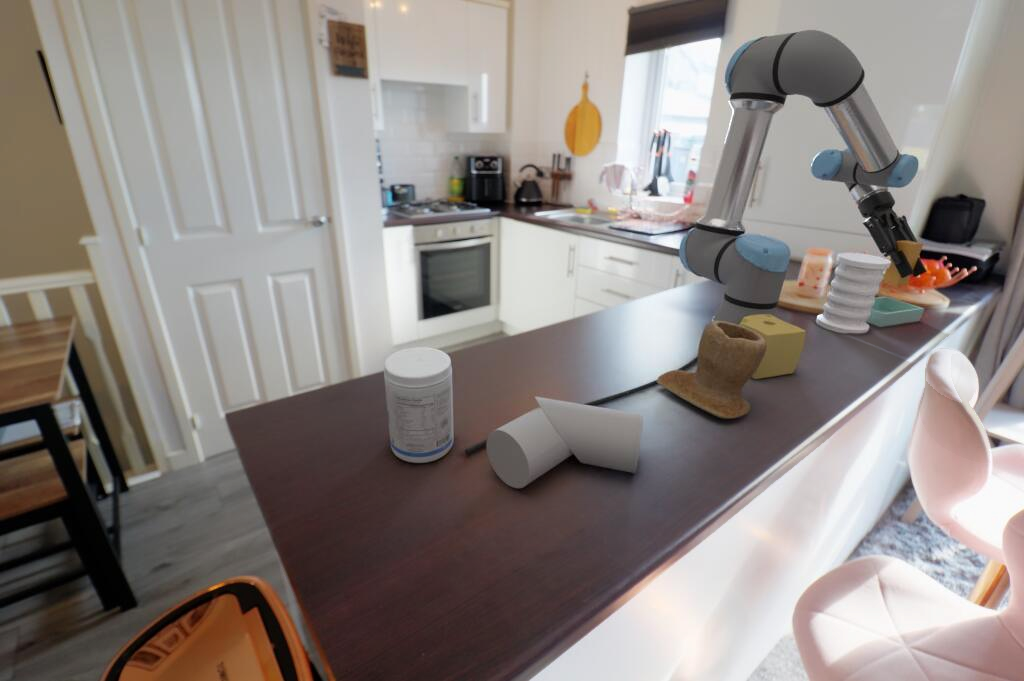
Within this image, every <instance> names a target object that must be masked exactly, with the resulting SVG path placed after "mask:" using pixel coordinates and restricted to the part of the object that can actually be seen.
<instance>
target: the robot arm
mask: <svg viewBox="0 0 1024 681" xmlns="http://www.w3.org/2000/svg"><path fill="white" fill-rule="evenodd" d="M724 72H725V73H724V84H726V85H725V89H726V92H727V93H728V94H729V95H730V96H729V101H728V104H729V106H730V107H731V109H732V115H731V119H730V123H729V125H728V130H727V133H726V137H725V141H724V145H723V149H722V151H721V155H720V160H719V163H718V166H717V169H716V174H715V177H714V181H713V185H712V188H711V192H710V195H709V199H708V202H707V206H706V210H705V212H704V213H705V214H704V215H703V216H702V217H701V218H699V219H698V220H696V223H695V225H694V227H692V228H691V229H689V230H688V231H687V232H686V234H685V235H684V236H682V239H681V241H680V244H679V249H678V254H679V260H680V263H681V264H682V266H683V268H684V269H685V270H686V271H688V272H690V273H692V274H693V275H695V276H697V277H700V278H705V279H707V280H710V281H713V282H715V283H718V284H721V285H723V286H725V291H724V294H723V299H722V301H721V302H720V305H719V306H718V308H717V309H716V311H715V314H714V315H713V316H712V317H711V320H710V321H709V324H710V323H711V322H713V321H725V322H728V323H733V324H737V325H739V324H740V323H741V321H742V319H743V318H744V317H746V316H751V315H759V314H770V315H772V316H774V317H776V318H778V317H777V307H778V304H779V301H780V297H781V293H782V289H783V285H784V282H785V278H786V275H787V272H788V269H789V268H790V258H791V252H792V251H791V249H790V246H789V245H788V244H787V243H785V242H784V241H782V240H780V239H777V238H775V237H773V236H769V235H762V234H760V233H759V234H758V233H746V230H747V229H746V227H745V226H744V224H743V222H742V219H743V217H744V214H745V210H746V207H747V203H748V200H749V197H750V193H751V190H752V187H753V184H754V181H755V178H756V174H757V170H758V167H759V164H760V161H761V158H762V154H763V152H764V147H765V145H766V142H767V141H766V140H767V137H768V135H769V131H770V128H771V124H772V121H773V117H774V115H775V114H776V113H778V112H779V111H781V110H782V109H784V108H785V103H786V100H787V97H788V96H794V95H799V96H804V97H806V98H808V99H810V100H811V102H812V103H813V105H814V106H815V107H817V108H819V109H824V111H825V113H826V115H827V116H828V117H829V119H830V121H831V122H832V124H833V126H834V127H835V129H836V130H837V132H838V133H839V135H840V137H841V139H842V140H843V142H844V143H845V145H846V146H847V147H846V148H845V149H843V150H839V149H833V148H832V149H824V150H822V151H819V153H817V154H816V155H815V156H814V157H813V159H812V161H811V165H810V172H811V174H812V176H813V177H814V178H816V179H818V180H821V181H829V182H837V183H844V185H845V186H846V188H847V190H848V192H849V194H850V195H851V198H852V200H853V201H854V203H855V205H857V210H858V211H859V213H860V215H861V217H862V218H863V219H865V220H864V221H862V224H863V226H864V227H865V228H866V229H867V230H868V233H869V234H870V236H871V238H872V239H873V241H874V243H875V245H876V247H877V248H878V250H879V252H880V253H881V254H882V255H883V256H884V258H888V257H889V258H891V259H892V261H893V263H894V265H895V266H896V268H897V270H898V272H899V274H900V276H901V278H905V277H907V276H909V275H911V276H912V275H913V277H914V278H916V277H919V276H921V275H923V274H925V273H927V269H926V267H925V265H924V264H923V262H922V260H921V258H920V257H918V259H917V262H916V264H915V267H914V269H912V267H911V265H910V264H909V262H908V260H907V258H906V256H905V255H904V253H903V251H902V250H900V251H898V250H899V248H898V246H897V243H896V242H897V241H905V240H908V241H913V242H918V240H917V238H916V236H915V235H914V233H913V230H912V229H911V227H910V225H909V224H908V220H907V219H908V218H907V217H906V215H904V214H903V215H901V216H899V215H897V214H898V213H897V212H896V211H894V209H893V207H894V206H895V204H896V200H895V199H894V197H893V195H892V193H891V192H890V191H889V188H896V189H902V188H904V187H907V186H908V185H910V183H912V181H913V180H914V178H915V177H916V175H917V172H918V171H919V170H918V169H919V165H920V164H919V159H918V157H917V156H915V155H914V154H913V155H912V154H908V153H900V151H899V150H898V147H897V145H896V144H895V141H894V140H893V138H892V136H891V134H890V132H889V130H888V129H887V126H886V125H885V123H884V120H883V119H882V116H881V115H880V113H879V110H878V109H877V107H876V105H875V104H874V101H873V100H872V98H871V96H870V94H869V92H868V90H867V88H866V86H865V84H864V81H865V78H866V73H865V69H864V68H863V66H862V64H861V62H860V60H859V59H858V58H857V56H856V55H855V53H854V52H853V51H852V50H851V49H850V48H849V47H848V46H847V45H846V44H845V43H844V42H842V41H841V40H839V39H838V38H837V37H835V36H833V35H832V34H829V33H827V32H824V31H822V30H816V29H807V30H801V31H797V32H795V31H794V32H789V33H788V32H787V33H782V34H781V33H780V34H775V35H765V36H760V37H758V38H755V39H751V40H748V41H746V42H745V43H742V45H741V46H739V47H738V48H737V49H736V50H735V52H734V53H733V54H732V55H731V57H730V59H729V61H728V63H727V66H726V69H725V71H724ZM695 363H698V355H697V356H696V357H694V358H693V359H692V360H690V361H689V362H687V363H686V364H685V365H682V366H681V367H679V368H677V370H683V371H687V369H689V368H690V367H692V366H693V365H694V364H695ZM656 381H657V379H655V380H653V381H650V382H648V383H645V384H643V385H640V386H637V387H634V388H631V389H628V390H624V391H621V392H619V393H615V394H612V395H609V396H606V397H603V398H599V399H596V400H592V401H588V402H585V403H582V404H583V405H589V406H599V405H601V404H602V405H603V404H605V403H608V402H611V401H615V400H618V399H621V398H624V397H627V396H630V395H633V394H635V393H638V392H641V391H644V390H647V389H649V388H651V387H654V386H657V385H659V384H658V383H657V382H656ZM486 443H487V438H486V439H485V440H484V439H483V441H479V442H478V443H476V444H474V445H472V446H470V447H468V448H466V449H465V450H464V452H465V454H466V455H467V456H468V455H470V454H472V453H475V452H476V451H479V450H480V449H482V448H484V447H486Z"/></svg>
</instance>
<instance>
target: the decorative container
mask: <svg viewBox="0 0 1024 681" xmlns="http://www.w3.org/2000/svg"><path fill="white" fill-rule="evenodd" d="M836 261H837V262H838V264H837V267H836V268H835V269H834V277H833V279H832V280H831V281H830V289H829V291H828V292H827V294H826V298H827V300H826V302H825V303H824V304H823V306H822V307H823V312H822V313H820V314H818V315H817V316H816V319H815V323H816V324H817V325H818V326H819V327H821V328H824V329H825V330H827V331H831V332H835V333H840V334H845V335H850V334H865V333H867V332H869V331H870V324H869V323H868V322H866V320H867V319H868V318H869V317H870V313H871V312H870V309H871V307H872V306H873V305H874V303H875V299H874V298H876V295H878V293H879V292H880V283H882V280H883V278H884V273H885V271H886V269H888V268H889V267H890V264H891V261H890V259H888V258H886V257H882V256H878V255H874V254H867V253H861V252H860V253H859V252H840V253H838V254H837V256H836Z"/></svg>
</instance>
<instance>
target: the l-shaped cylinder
mask: <svg viewBox="0 0 1024 681" xmlns="http://www.w3.org/2000/svg"><path fill="white" fill-rule="evenodd" d="M534 398H535V400H536V402H537V403H538V406H537V407H536V408H533V409H532V410H530V411H528V412H526V413H524V414H522V415H520V416H518V417H516V418H514V419H513V420H511V421H509V422H507V423H505V424H503V425H502V426H500V427H498V428H496V429H494V430H492V431H491V432H490V433H489V434H488V436H487V437H486V439H487V443H486V446H485V448H486V454H487V457H488V461H489V463H490V465H491V467H492V469H493V471H494V472H495V474H496V476H498V478H499V479H500V480H501V481H502V482H503V483H505V484H506V485H508V487H511V488H514V489H522V488H524V487H526V486H527V485H529V484H530V483H532V482H534V481H535V480H536V479H538V478H539V477H541V476H543V475H544V474H546V473H547V472H549V471H550V470H551V469H553V468H554V467H556V466H558V465H559V464H560V463H562V462H564V461H565V460H567V459H568V458H570V457H571V456H573V455H574V456H575V458H576V459H577V460H578V461H579V462H580V463H581V464H585V465H591V466H594V467H601V468H606V469H611V470H616V471H619V472H620V471H621V472H626V473H631V474H636V472H637V468H638V462H639V457H640V450H641V442H642V434H643V424H644V414H643V413H637V412H631V411H625V410H619V409H613V408H606V407H600V406H597V405H595V406H589V405H583V404H584V403H577V402H571V401H565V400H559V399H554V398H546V397H541V396H534Z"/></svg>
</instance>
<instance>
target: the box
mask: <svg viewBox="0 0 1024 681" xmlns="http://www.w3.org/2000/svg"><path fill="white" fill-rule="evenodd" d="M874 299H875V303H874V305H873V306H872V307H871V309H870V312H871V313H870V317H869V318H868V319H867V320H866V323H867V324H871V325H873V326H877V327H879V328H882V327H890V326H896V325H900V324H902V325H903V324H908V323H915V322H920V320H921V318H922V315H923V313H924V310H925V308H924V307H921V306H918V305H914V304H912V303H908V302H905V301H901V300H898V299H897V298H896V299H895V298H892V297H890V296H887V295H886V296H878V297H875V298H874Z"/></svg>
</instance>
